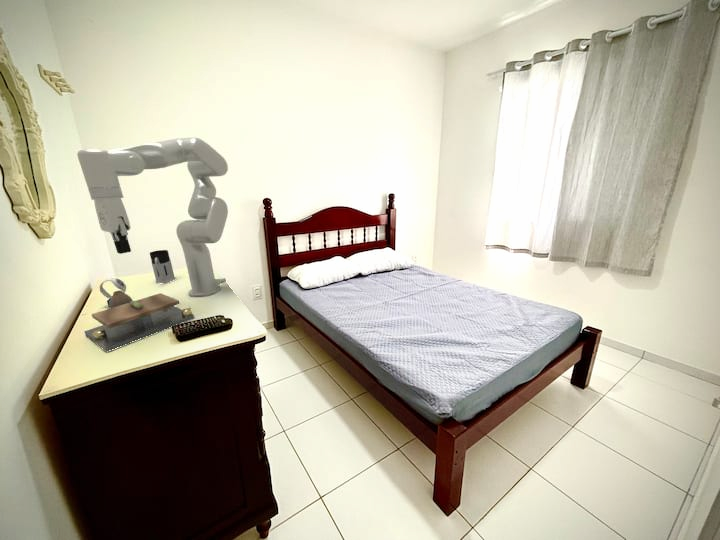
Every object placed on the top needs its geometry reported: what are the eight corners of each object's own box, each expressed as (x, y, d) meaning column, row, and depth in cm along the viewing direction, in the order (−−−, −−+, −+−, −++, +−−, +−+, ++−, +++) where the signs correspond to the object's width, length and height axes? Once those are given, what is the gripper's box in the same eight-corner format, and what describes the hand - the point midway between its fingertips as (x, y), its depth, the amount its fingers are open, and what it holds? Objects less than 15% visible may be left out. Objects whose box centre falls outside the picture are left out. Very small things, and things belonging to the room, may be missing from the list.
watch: (128, 305, 116) (120, 279, 112) (103, 309, 113) (94, 282, 109) (132, 300, 121) (125, 275, 117) (108, 304, 117) (100, 278, 114)
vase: (110, 318, 104) (102, 296, 101) (115, 311, 110) (108, 290, 107) (133, 314, 107) (127, 292, 104) (137, 307, 113) (131, 286, 110)
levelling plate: (161, 297, 108) (159, 288, 107) (180, 304, 100) (177, 296, 99) (93, 318, 92) (89, 309, 91) (109, 329, 84) (105, 319, 83)
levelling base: (168, 307, 113) (165, 294, 111) (194, 318, 102) (191, 304, 101) (85, 335, 93) (80, 320, 91) (107, 352, 83) (101, 335, 81)
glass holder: (177, 277, 150) (170, 249, 145) (172, 285, 137) (165, 255, 133) (157, 279, 146) (150, 251, 142) (151, 288, 134) (142, 257, 129)
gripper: (81, 194, 87) (101, 252, 93) (100, 195, 80) (120, 258, 86) (111, 192, 93) (128, 247, 99) (131, 193, 86) (148, 252, 92)
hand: (124, 252), depth 92 cm, fingers closed
